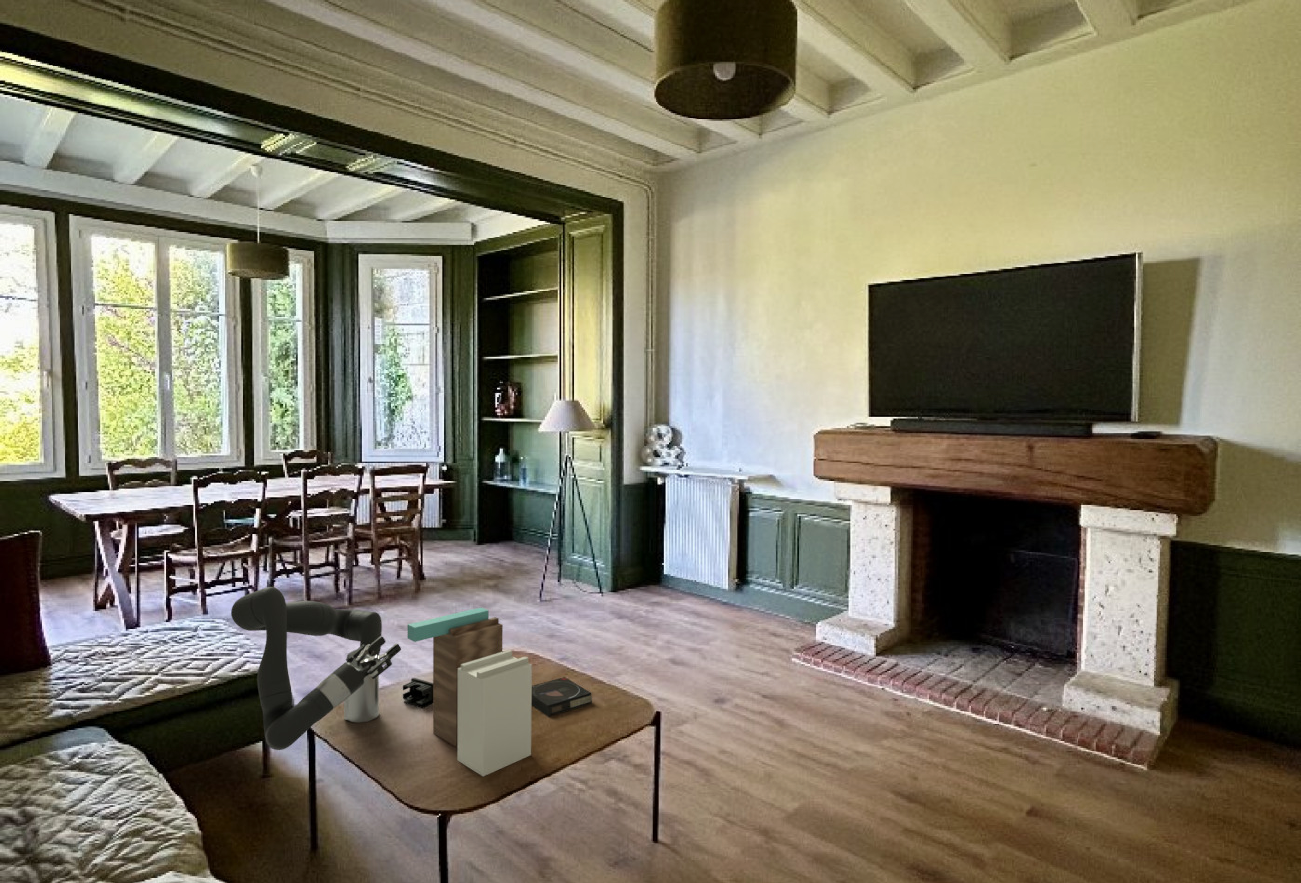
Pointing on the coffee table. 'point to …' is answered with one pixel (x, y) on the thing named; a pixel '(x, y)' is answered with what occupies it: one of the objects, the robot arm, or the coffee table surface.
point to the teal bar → (445, 624)
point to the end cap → (418, 693)
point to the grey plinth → (494, 712)
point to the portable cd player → (559, 696)
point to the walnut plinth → (446, 661)
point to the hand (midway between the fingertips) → (391, 642)
